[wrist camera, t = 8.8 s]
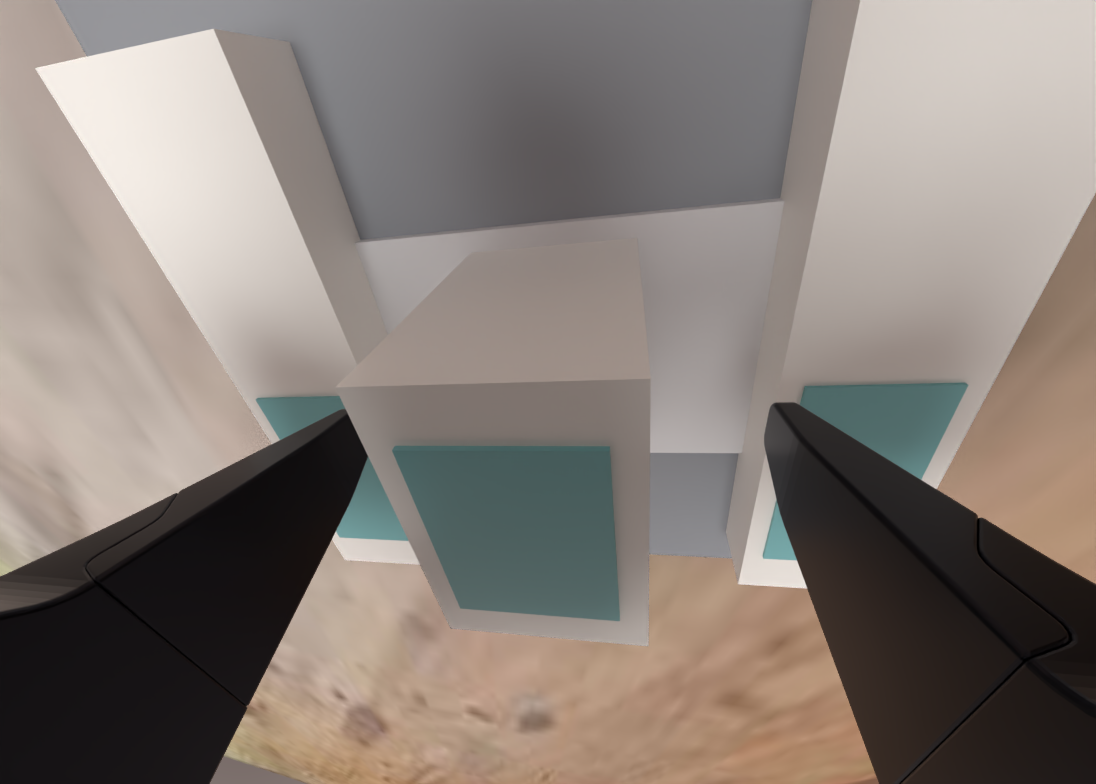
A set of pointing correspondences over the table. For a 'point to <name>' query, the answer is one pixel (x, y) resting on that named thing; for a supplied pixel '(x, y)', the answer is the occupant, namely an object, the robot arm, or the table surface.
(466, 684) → the table surface
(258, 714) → the table surface
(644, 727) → the table surface
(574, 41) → the rail board
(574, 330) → the block
